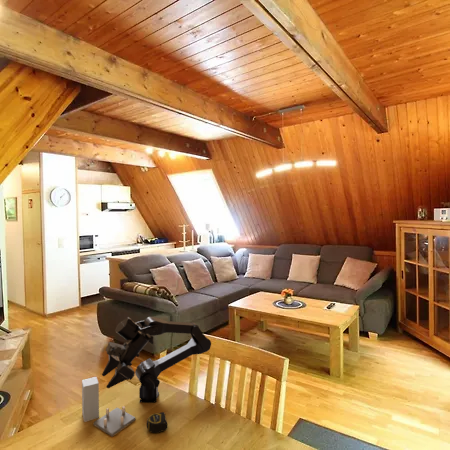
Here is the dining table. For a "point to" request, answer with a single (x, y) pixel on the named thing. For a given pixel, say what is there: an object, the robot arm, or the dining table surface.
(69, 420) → the dining table surface
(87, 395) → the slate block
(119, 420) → the plate
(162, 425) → the tape measure
